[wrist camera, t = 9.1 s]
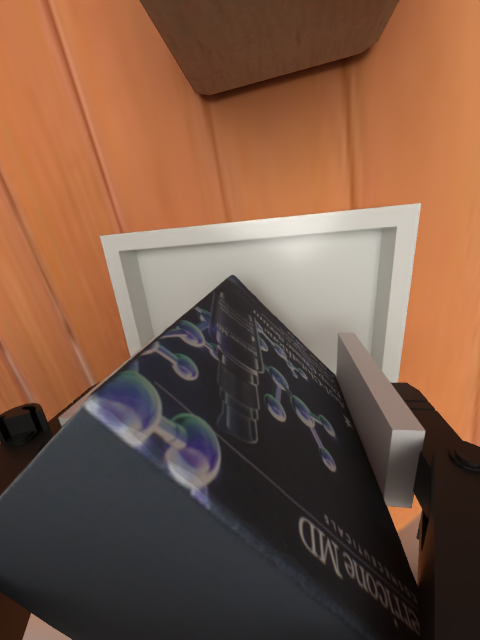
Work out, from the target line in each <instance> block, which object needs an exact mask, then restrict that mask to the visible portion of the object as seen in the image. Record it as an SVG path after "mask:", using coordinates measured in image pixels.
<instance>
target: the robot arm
mask: <svg viewBox="0 0 480 640" xmlns="http://www.w3.org/2000/svg"><path fill="white" fill-rule="evenodd" d="M155 338H156V337H154V338H152V339H151V340H150V341H149V342H148V343H147V344H145V345H144V346H143V347H142V348H141V349H139V350H138V351H137V352H136V353H135V354H133V355H132V356H131V357H130V358H129V359H127V360H126V361H125V362H124V363H123V364H122V365H120V366H119V367H118V368H117V369H116V370H114V371H113V372H112V373H111V374H110V375H108V376H107V377H106V378H105V379H104V380H102V381H101V382H99V383H98V384H96V385H94V386H92V387H90V388H89V389H88V390H86V391H85V392H84V393H83V394H82V395H81V397H78V398H77V399H75V400H74V401H73V403H71V404H69V405H68V406H67V407H66V408H65V409H63V410H62V411H61V412H60V413H58V414H57V415H56V416H55V417H54V418H52V419H51V420H50V421H49V422H47V419H46V417H45V414H44V412H43V409H42V407H41V406H40V405H39V404H36V403H31V404H25V405H21V406H18V407H15V408H13V409H11V410H8V411H6V412H4V413H3V414H1V415H0V442H1V444H0V494H1V493H2V492H3V491H4V490H5V488H6V487H7V486H8V485H9V484H10V483H11V482H12V481H13V480H14V479H15V477H16V476H17V475H18V474H19V473H20V472H21V471H22V470H23V469H24V468H25V467H26V466H27V464H28V463H29V462H30V461H31V460H32V459H33V458H34V457H35V456H36V455H37V454H38V453H39V452H40V451H41V449H42V448H43V447H44V446H45V445H46V444H47V443H48V441H49V440H50V439H51V438H52V437H53V436H54V435H55V434H56V433H57V432H58V431H59V430H60V429H61V427H62V426H63V425H64V424H65V423H66V422H67V421H68V420H69V419H70V418H71V417H72V415H73V414H74V413H75V412H76V411H77V410H78V409H79V408H80V406H81V405H82V404H83V403H84V401H85V400H86V399H87V398H88V397H89V395H90V394H91V393H92V392H93V391H94V390H95V389H97V388H98V387H99V386H100V385H101V384H103V383H104V382H105V381H106V380H107V379H108V378H110V377H111V376H112V375H113V374H114V373H116V372H117V371H118V370H119V369H120V368H121V367H122V366H123V365H125V364H126V363H127V362H128V361H129V360H131V359H132V358H133V357H134V356H135V355H136V354H137V353H139V352H140V351H141V350H143V349H144V348H145V347H146V346H147V345H148V344H150V343H151V342H152V341H153V340H154V339H155ZM336 378H337V381H338V383H339V386H340V388H341V391H342V394H343V396H344V399H345V401H346V404H347V407H348V409H349V411H350V414H351V417H352V419H353V422H354V425H355V427H356V430H357V432H358V435H359V437H360V440H361V442H362V445H363V447H364V450H365V452H366V455H367V457H368V460H369V462H370V465H371V467H372V470H373V472H374V475H375V477H376V480H377V483H378V485H379V488H380V490H381V492H382V495H383V498H384V501H385V503H386V506H392V507H404V508H412V503H413V497H414V494H415V496H416V498H417V500H418V501H419V503H420V505H421V507H422V514H421V519H420V524H419V529H418V534H417V539H419V559H418V580H417V586H418V593H419V621H420V640H480V447H479V446H476V445H474V444H471V443H469V442H466V441H463V440H462V439H461V438H460V437H459V436H458V435H457V434H456V432H455V431H454V430H453V429H452V428H451V427H450V426H449V424H448V423H447V422H446V421H445V420H444V419H443V417H442V416H441V415H440V414H439V413H438V412H437V411H435V408H434V407H433V406H432V405H431V404H430V403H429V402H428V400H427V399H426V398H425V397H424V396H423V394H422V393H421V392H420V391H419V390H417V389H416V388H414V387H412V386H411V385H409V384H408V383H390V381H389V380H388V379H387V377H386V376H385V374H384V373H383V372H382V370H381V369H380V368H379V366H378V365H377V363H376V362H375V361H374V359H373V358H372V357H371V355H370V354H369V352H368V351H367V350H366V348H365V347H364V346H363V344H362V343H361V341H360V340H359V339H358V337H357V336H356V335H355V333H338V345H337V370H336ZM30 614H31V612H29V611H28V610H26V609H25V608H23V607H22V606H20V605H19V604H17V603H16V602H14V601H13V600H11V599H10V598H8V597H7V596H6V595H4V594H3V593H1V592H0V640H22V639H23V636H24V632H25V630H26V627H27V624H28V621H29V618H30Z"/></svg>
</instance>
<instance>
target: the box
mask: <svg viewBox="0 0 480 640" xmlns="http://www.w3.org/2000/svg"><path fill="white" fill-rule="evenodd" d="M0 592H1V593H3V594H4V595H6V596H7V597H8V598H10V599H11V600H13V601H14V602H16V603H17V604H19V605H20V606H22V607H23V608H25V609H26V610H28V611H29V612H31V613H32V614H34V615H35V616H37V617H39V618H40V619H41V620H43V621H44V622H46V623H47V624H49V625H50V626H52V627H53V628H55V629H57V630H58V631H60V632H61V633H63V634H65V635H66V636H68V637H70V638H71V639H72V640H420V621H419V593H418V586H417V584H416V581H415V579H414V576H413V574H412V571H411V569H410V566H409V563H408V560H407V557H406V555H405V552H404V549H403V547H402V544H401V541H400V539H399V536H398V533H397V531H396V529H395V526H394V523H393V521H392V518H391V516H390V513H389V511H388V508H387V506H386V503H385V501H384V498H383V495H382V492H381V490H380V488H379V485H378V483H377V480H376V477H375V475H374V472H373V470H372V467H371V465H370V462H369V460H368V457H367V455H366V452H365V450H364V447H363V445H362V442H361V440H360V437H359V435H358V432H357V430H356V427H355V425H354V422H353V419H352V417H351V414H350V411H349V409H348V407H347V404H346V401H345V399H344V396H343V394H342V391H341V388H340V386H339V383H338V381H337V378H336V376H335V374H334V373H333V372H332V371H331V370H330V369H329V368H328V367H327V366H326V365H325V364H324V363H322V362H321V361H320V360H319V359H318V358H317V357H316V356H315V355H314V354H313V353H312V352H311V351H310V350H309V349H308V348H307V347H306V346H305V345H304V344H303V343H302V342H301V341H300V340H299V339H298V338H297V337H296V336H295V335H294V334H293V333H292V332H291V331H290V330H289V329H288V328H287V327H286V326H285V325H284V324H283V323H282V322H281V321H280V320H279V319H278V318H277V317H276V316H274V315H273V314H272V313H271V312H270V311H269V310H268V309H267V308H266V307H265V306H264V304H262V303H261V302H260V301H259V300H258V299H257V297H256V296H255V295H254V294H253V293H251V291H250V290H248V289H247V288H246V286H245V285H244V284H243V283H242V282H241V281H240V280H239V279H238V278H237V277H236V276H235V275H231V276H229V277H228V278H226V279H225V280H224V281H223V282H222V283H221V284H219V285H218V286H217V287H216V288H215V289H214V290H213V291H211V292H210V293H209V294H208V295H206V296H205V297H204V298H203V299H202V300H200V301H199V302H198V303H197V304H196V305H195V306H194V307H192V308H191V309H190V310H189V311H187V312H186V313H185V314H184V315H182V316H181V317H180V318H179V319H178V320H176V321H175V322H174V323H173V324H172V325H171V326H169V327H168V328H167V329H166V330H165V331H164V332H163V333H162V334H160V335H159V336H158V337H156V338H155V339H154V340H153V341H152V342H151V343H150V344H148V345H147V346H146V347H145V348H144V349H143V350H141V351H140V352H139V353H137V354H136V355H135V356H134V357H133V358H132V359H131V360H129V361H128V362H127V363H126V364H125V365H123V366H122V367H121V368H120V369H119V370H118V371H117V372H116V373H114V374H113V375H112V376H111V377H110V378H108V379H107V380H106V381H105V382H104V383H103V384H101V385H100V386H99V387H98V388H97V389H95V390H94V391H93V392H92V393H91V394H90V395H89V397H88V398H87V399H86V400H85V401H84V403H83V404H82V405H81V406H80V408H79V409H78V410H77V411H76V412H75V413H74V414H73V415H72V417H71V418H70V419H69V420H68V421H67V422H66V423H65V424H64V425H63V426H62V427H61V429H60V430H59V431H58V432H57V433H56V434H55V435H54V436H53V437H52V438H51V439H50V440H49V441H48V443H47V444H46V445H45V446H44V447H43V448H42V449H41V451H40V452H39V453H38V454H37V455H36V456H35V457H34V458H33V459H32V460H31V461H30V462H29V463H28V464H27V466H26V467H25V468H24V469H23V470H22V471H21V472H20V473H19V474H18V475H17V476H16V477H15V479H14V480H13V481H12V482H11V483H10V484H9V485H8V486H7V487H6V488H5V490H4V491H3V492H2V493H1V494H0Z"/></svg>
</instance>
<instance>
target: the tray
mask: <svg viewBox="0 0 480 640" xmlns="http://www.w3.org/2000/svg"><path fill="white" fill-rule="evenodd" d="M420 208H421V203H418V204H408V205H398V206H388V207H378V208H368V209H359V210H349V211H339V212H329V213H319V214H310V215H300V216H290V217H280V218H270V219H260V220H251V221H241V222H231V223H221V224H211V225H201V226H192V227H182V228H172V229H162V230H152V231H142V232H133V233H123V234H113V235H103V236H100V238H101V242H102V246H103V250H104V254H105V258H106V262H107V266H108V270H109V274H110V278H111V282H112V286H113V290H114V294H115V298H116V302H117V306H118V310H119V313H120V317H121V321H122V325H123V329H124V333H125V337H126V341H127V345H128V349H129V353H130V357H131V356H132V355H133V354H135V353H136V352H137V351H138V350H139V349H141V348H142V347H143V346H144V345H145V344H147V343H148V342H149V341H150V340H151V339H152V338H154V337H158V336H159V335H160V334H162V333H163V332H164V331H165V330H166V329H167V328H168V327H169V326H171V325H172V324H173V323H174V322H175V321H176V320H178V319H179V318H180V317H181V316H182V315H184V314H185V313H186V312H187V311H189V310H190V309H191V308H192V307H194V306H195V305H196V304H197V303H198V302H199V301H200V300H202V299H203V298H204V297H205V296H206V295H208V294H209V293H210V292H211V291H213V290H214V289H215V288H216V287H217V286H218V285H219V284H221V283H222V282H223V281H224V280H225V279H226V278H228V277H229V276H231V275H235V276H236V277H237V278H238V279H239V280H240V281H241V282H242V283H243V284H244V285H245V286H246V288H247V289H248V290H250V291H251V293H253V294H254V295H255V296H256V297H257V299H258V300H259V301H260V302H261V303H262V304H264V306H265V307H266V308H267V309H268V310H269V311H270V312H271V313H272V314H273V315H274V316H276V317H277V318H278V319H279V320H280V321H281V322H282V323H283V324H284V325H285V326H286V327H287V328H288V329H289V330H290V331H291V332H292V333H293V334H294V335H295V336H296V337H297V338H298V339H299V340H300V341H301V342H302V343H303V344H304V345H305V346H306V347H307V348H308V349H309V350H310V351H311V352H312V353H313V354H314V355H315V356H316V357H317V358H318V359H319V360H320V361H321V362H322V363H324V364H325V365H326V366H327V367H328V368H329V369H330V370H331V371H332V372H333V373H334V374H335V376H336V370H337V345H338V333H355V335H356V336H357V337H358V339H359V340H360V341H361V343H362V344H363V346H364V347H365V348H366V350H367V351H368V352H369V354H370V355H371V357H372V358H373V359H374V361H375V362H376V363H377V365H378V366H379V368H380V369H381V370H382V372H383V373H384V374H385V376H386V377H387V379H388V380H389V381H390V383H398V377H399V370H400V362H401V354H402V346H403V339H404V331H405V323H406V316H407V308H408V300H409V292H410V285H411V277H412V269H413V262H414V254H415V246H416V238H417V231H418V223H419V215H420Z"/></svg>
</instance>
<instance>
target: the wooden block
mask: <svg viewBox="0 0 480 640" xmlns="http://www.w3.org/2000/svg"><path fill="white" fill-rule="evenodd" d="M398 1H399V0H140V2H141V4H142V5H143V7H144V9H145V10H146V12H147V13H148V15H149V17H150V18H151V20H152V22H153V23H154V25H155V27H156V28H157V30H158V32H159V33H160V35H161V37H162V38H163V40H164V42H165V43H166V45H167V47H168V48H169V50H170V52H171V53H172V55H173V56H174V58H175V60H176V61H177V63H178V65H179V66H180V68H181V70H182V71H183V73H184V75H185V76H186V78H187V80H188V81H189V83H190V85H191V86H192V88H193V90H194V91H195V92H196V93H199V94H205V95H213V94H216V93H220V92H224V91H227V90H231V89H234V88H238V87H242V86H245V85H249V84H252V83H256V82H260V81H263V80H267V79H271V78H274V77H278V76H281V75H285V74H289V73H292V72H296V71H299V70H303V69H307V68H310V67H314V66H317V65H321V64H325V63H328V62H332V61H336V60H339V59H343V58H346V57H350V56H354V55H357V54H360V53H362V52H364V51H365V50H366V49H368V48H369V47H370V46H372V45H373V44H374V43H376V42H377V41H378V40H379V38H380V36H381V34H382V32H383V30H384V28H385V26H386V24H387V23H388V21H389V19H390V17H391V15H392V13H393V11H394V9H395V7H396V5H397V3H398Z"/></svg>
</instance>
